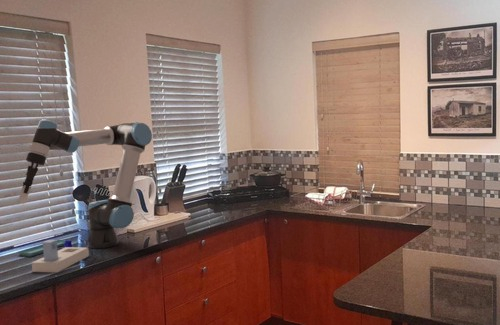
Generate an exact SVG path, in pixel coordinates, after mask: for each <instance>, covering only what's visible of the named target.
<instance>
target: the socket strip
mask: <svg viewBox="0 0 500 325" xmlns="http://www.w3.org/2000/svg"><path fill="white" fill-rule="evenodd" d="M57 251H58V259H57V260H55V261H53V262H50V261H44V256H43V257H41V258H38V259H37V260H34V261H32V262H31V269H32V270H31V271H32V272H33V273H56V274H57V273H59V272H61V271H63V270H65V269H66V268H68V267H71V266H72V265H74V264H76V263H78V262H80V261H82V260H84V259H87V258H88V257H89V256H90V255H89V254H90V252H89V247H74V246H72V247H65V248H63V247H62V248H61V249H57Z"/></svg>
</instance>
